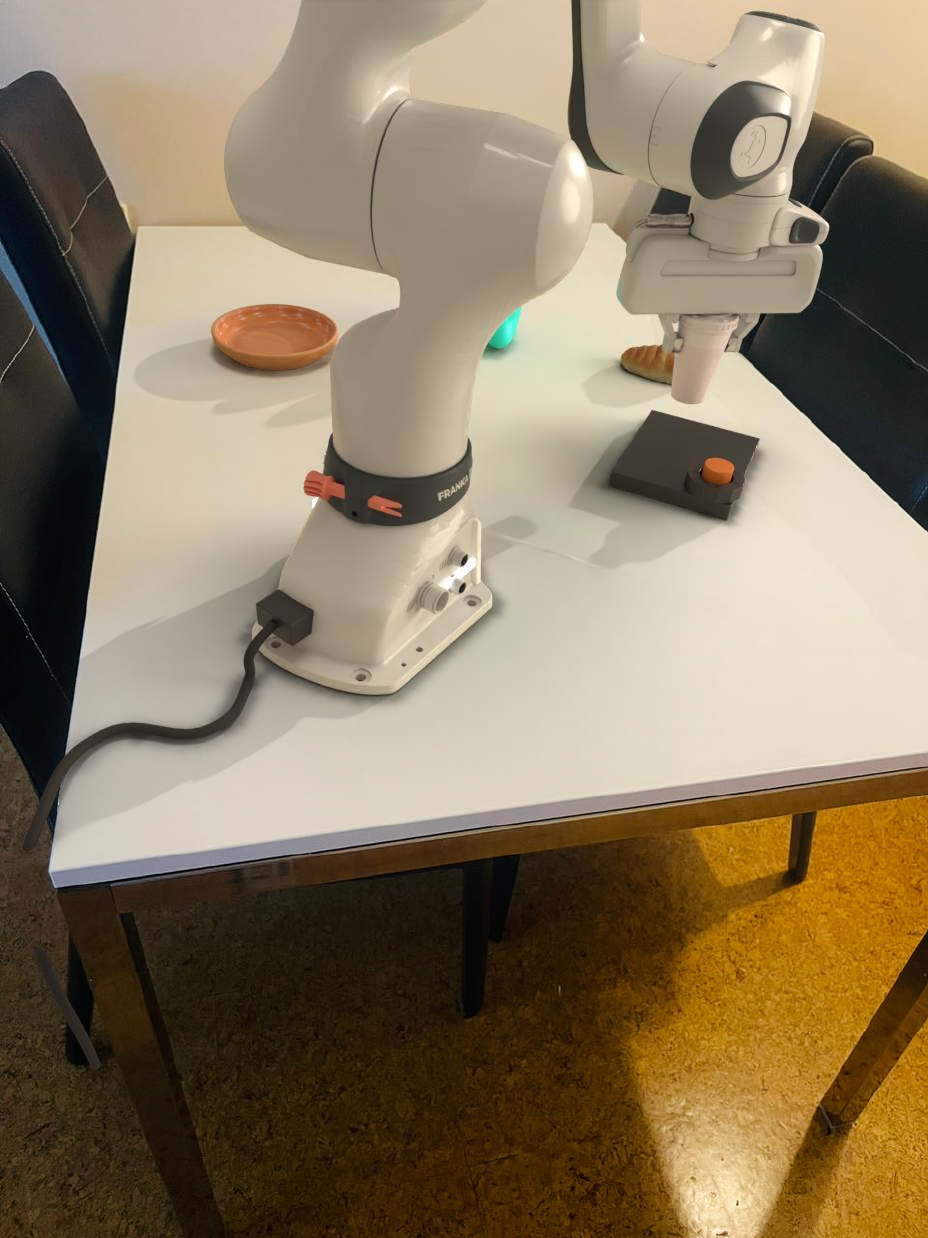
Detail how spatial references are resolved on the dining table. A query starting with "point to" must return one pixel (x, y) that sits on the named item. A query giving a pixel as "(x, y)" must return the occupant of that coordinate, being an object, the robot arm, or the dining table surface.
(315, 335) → the saucer
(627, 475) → the scale
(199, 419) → the dining table surface
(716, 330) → the smoothie
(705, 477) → the button
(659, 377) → the pastry
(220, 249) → the dining table surface
